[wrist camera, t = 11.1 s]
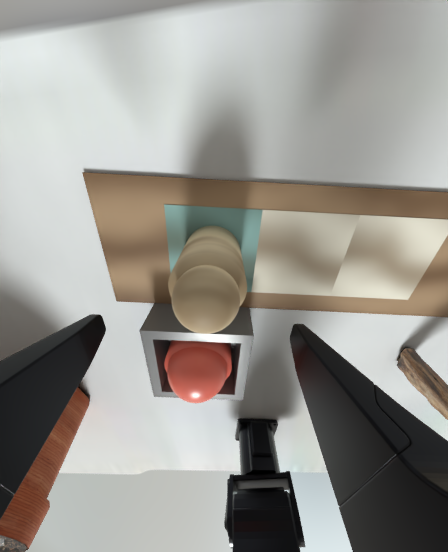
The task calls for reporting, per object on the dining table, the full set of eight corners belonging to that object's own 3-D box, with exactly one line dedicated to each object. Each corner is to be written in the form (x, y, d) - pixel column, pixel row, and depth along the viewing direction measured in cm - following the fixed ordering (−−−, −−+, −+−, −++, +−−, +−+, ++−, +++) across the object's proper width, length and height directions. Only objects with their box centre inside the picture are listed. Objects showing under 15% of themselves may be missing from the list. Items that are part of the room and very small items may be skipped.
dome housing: (240, 367, 26) (242, 400, 22) (164, 363, 26) (153, 396, 22) (248, 306, 21) (253, 335, 17) (155, 301, 21) (139, 330, 17)
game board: (469, 317, 21) (472, 318, 21) (117, 300, 21) (116, 301, 20) (569, 199, 15) (574, 199, 15) (84, 172, 15) (81, 172, 15)
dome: (229, 365, 24) (229, 419, 19) (174, 362, 24) (159, 417, 19) (233, 323, 21) (235, 375, 15) (169, 320, 21) (149, 371, 15)
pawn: (237, 278, 19) (247, 357, 11) (186, 275, 19) (158, 353, 11) (243, 227, 16) (259, 282, 9) (184, 223, 16) (146, 276, 8)
